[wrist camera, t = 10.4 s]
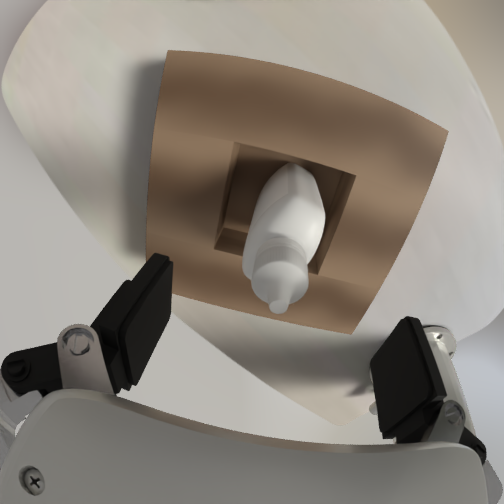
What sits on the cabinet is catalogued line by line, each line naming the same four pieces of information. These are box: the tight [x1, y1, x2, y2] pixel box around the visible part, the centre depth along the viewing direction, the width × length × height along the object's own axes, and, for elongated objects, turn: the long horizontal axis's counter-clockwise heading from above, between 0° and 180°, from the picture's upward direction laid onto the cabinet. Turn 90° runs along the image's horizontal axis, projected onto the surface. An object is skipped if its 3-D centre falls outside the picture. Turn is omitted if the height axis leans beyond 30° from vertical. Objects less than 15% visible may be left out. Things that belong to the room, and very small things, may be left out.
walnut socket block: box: [146, 50, 449, 334], centre depth 19 cm, size 18×18×4 cm
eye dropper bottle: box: [242, 163, 325, 314], centre depth 15 cm, size 4×6×12 cm
